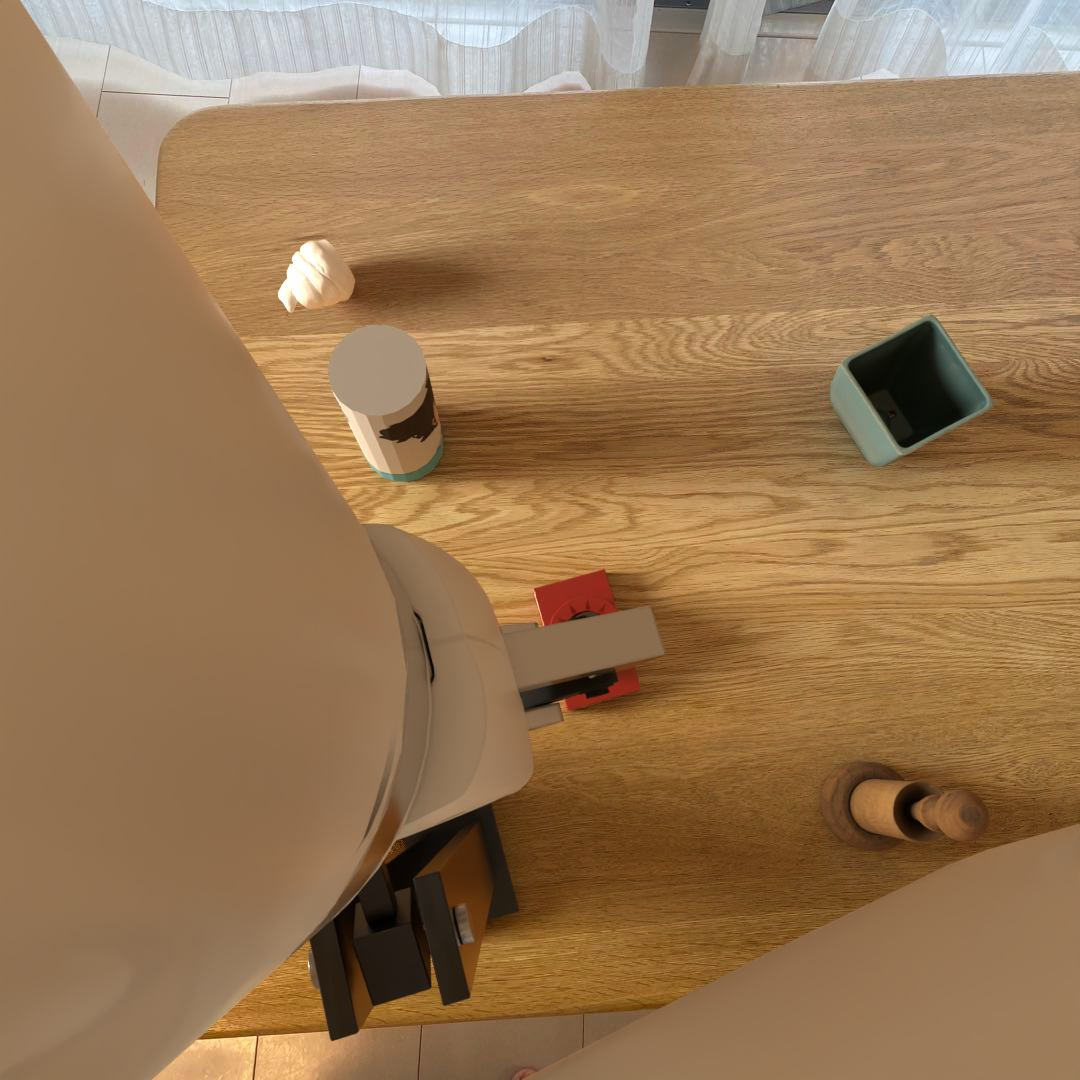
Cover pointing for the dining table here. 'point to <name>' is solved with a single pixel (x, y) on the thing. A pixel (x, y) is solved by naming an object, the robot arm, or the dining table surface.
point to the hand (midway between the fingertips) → (354, 736)
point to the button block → (576, 599)
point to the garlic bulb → (316, 277)
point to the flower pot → (906, 392)
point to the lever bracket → (424, 914)
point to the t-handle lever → (390, 941)
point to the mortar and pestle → (897, 809)
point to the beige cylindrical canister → (388, 401)
